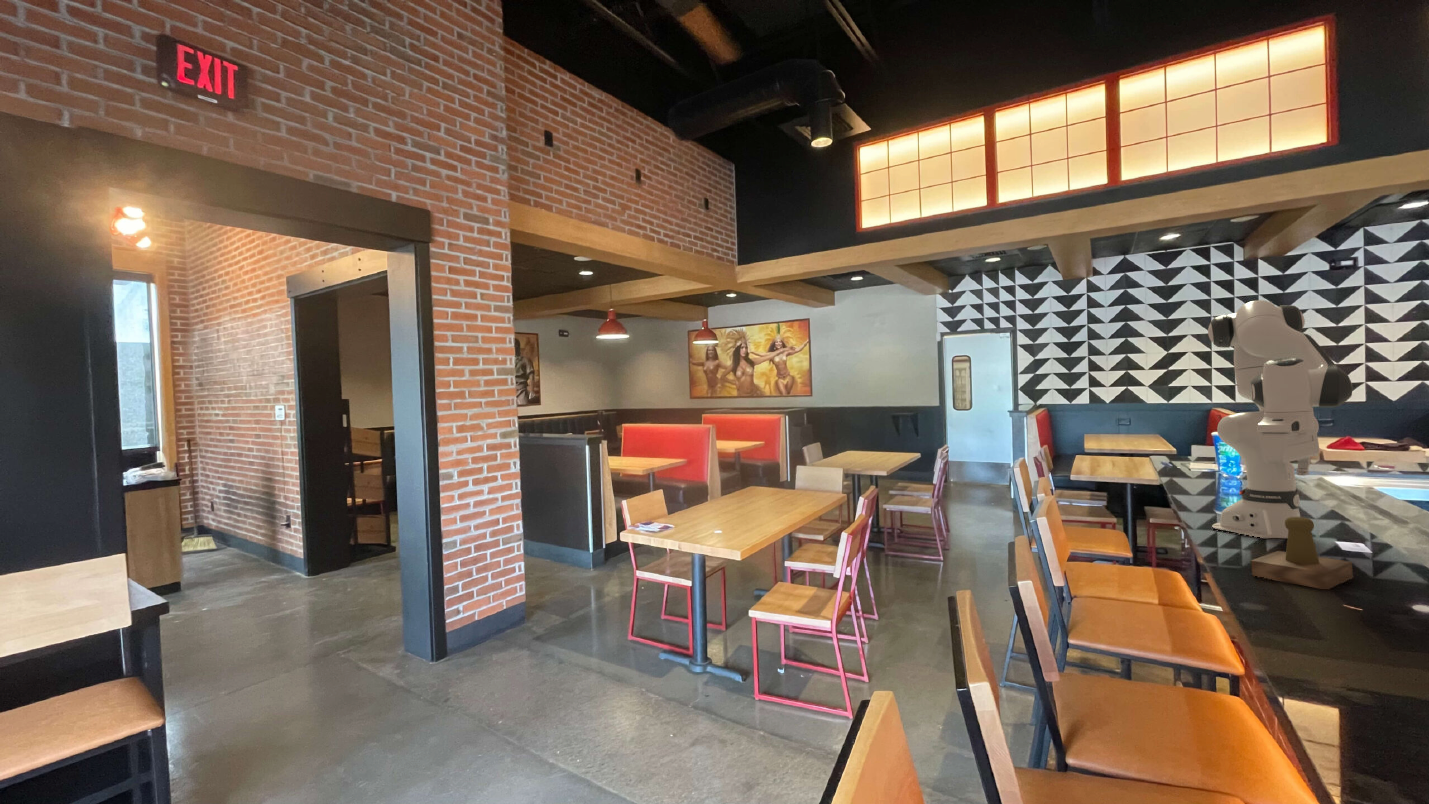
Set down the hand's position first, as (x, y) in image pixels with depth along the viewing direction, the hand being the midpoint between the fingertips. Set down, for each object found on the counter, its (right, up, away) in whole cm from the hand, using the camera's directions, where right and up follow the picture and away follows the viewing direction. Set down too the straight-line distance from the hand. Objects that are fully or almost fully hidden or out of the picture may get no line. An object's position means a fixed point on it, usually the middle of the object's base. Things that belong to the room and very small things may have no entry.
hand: (1293, 477), depth 147 cm
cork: (+2, -21, 0) cm, 21 cm away
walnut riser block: (+2, -25, 0) cm, 25 cm away
